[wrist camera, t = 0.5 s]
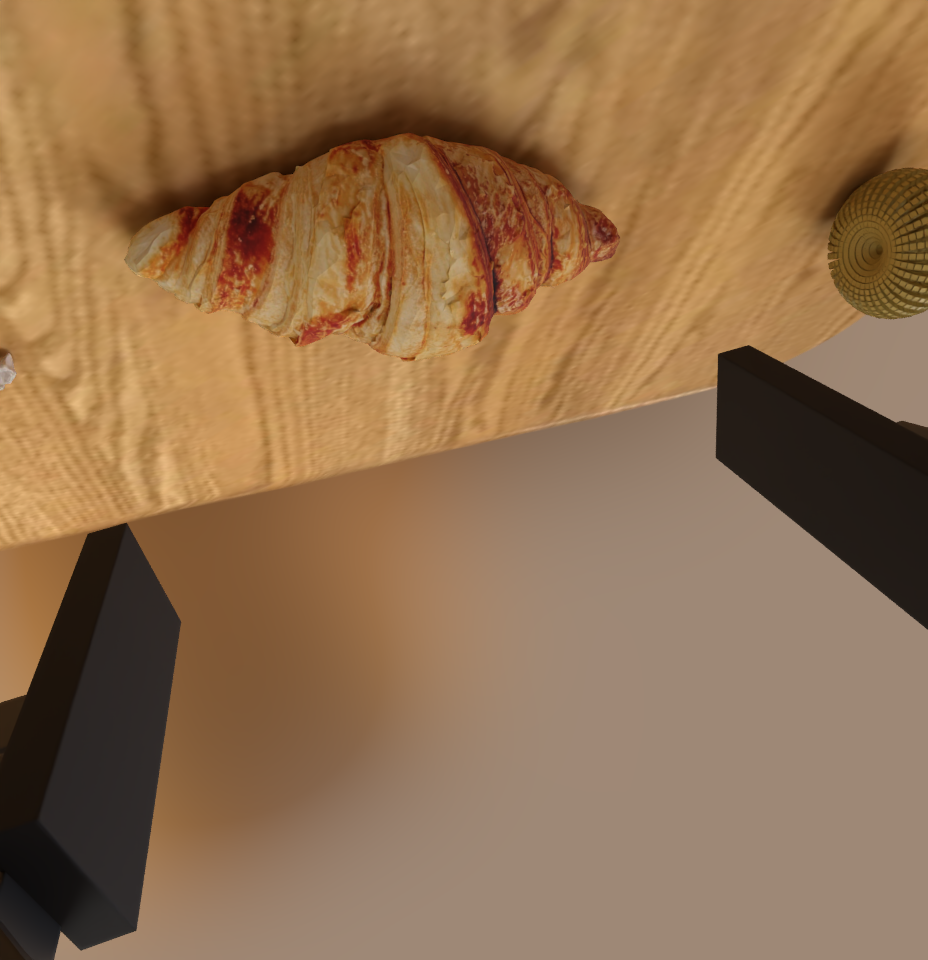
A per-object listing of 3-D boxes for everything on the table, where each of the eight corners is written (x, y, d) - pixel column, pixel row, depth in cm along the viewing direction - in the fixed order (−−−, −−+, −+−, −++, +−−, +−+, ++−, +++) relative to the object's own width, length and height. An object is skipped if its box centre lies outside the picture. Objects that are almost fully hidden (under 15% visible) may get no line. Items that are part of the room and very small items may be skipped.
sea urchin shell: (846, 242, 44) (919, 339, 40) (792, 253, 43) (862, 354, 40) (931, 129, 37) (1027, 236, 33) (868, 140, 36) (960, 251, 33)
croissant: (130, 223, 30) (163, 402, 31) (78, 102, 21) (126, 362, 21) (558, 202, 37) (582, 350, 37) (669, 101, 27) (699, 301, 28)
